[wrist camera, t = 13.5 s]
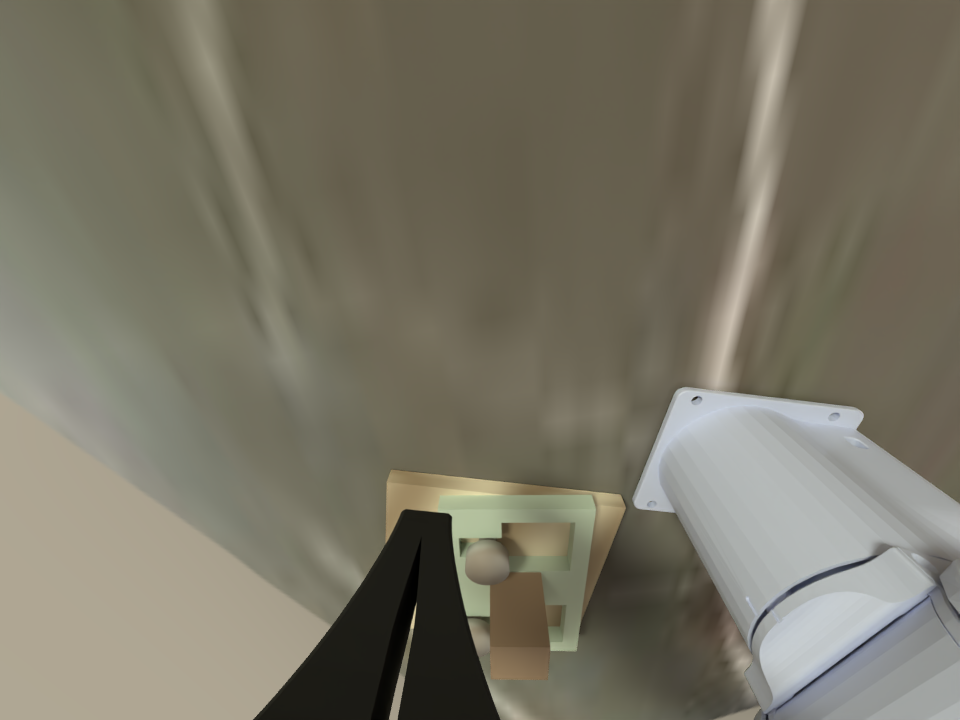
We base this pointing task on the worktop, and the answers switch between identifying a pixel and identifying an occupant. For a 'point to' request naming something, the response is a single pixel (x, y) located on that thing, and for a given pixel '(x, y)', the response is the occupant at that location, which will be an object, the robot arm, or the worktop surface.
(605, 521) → the stud board
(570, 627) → the keyhole panel
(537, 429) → the worktop surface
